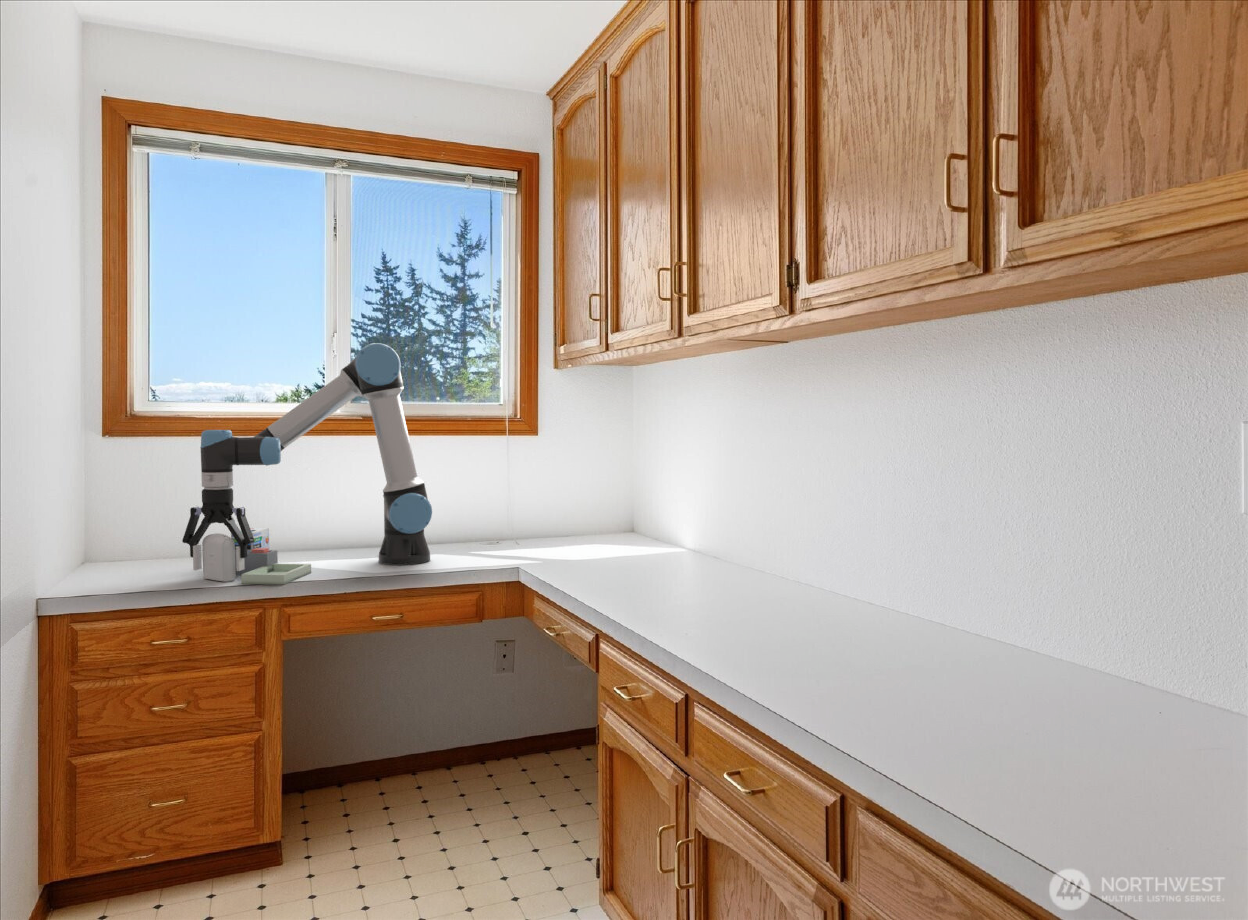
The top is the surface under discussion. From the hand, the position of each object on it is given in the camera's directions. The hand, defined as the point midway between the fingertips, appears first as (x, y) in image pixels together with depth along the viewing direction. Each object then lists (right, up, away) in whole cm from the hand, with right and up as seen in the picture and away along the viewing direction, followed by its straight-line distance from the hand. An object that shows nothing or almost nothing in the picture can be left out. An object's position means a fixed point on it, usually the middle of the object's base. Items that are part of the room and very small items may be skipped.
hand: (219, 569), depth 223 cm
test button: (+7, 0, +9) cm, 12 cm away
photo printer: (0, -3, 0) cm, 3 cm away
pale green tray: (+15, -3, +2) cm, 15 cm away
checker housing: (+4, -2, +9) cm, 10 cm away
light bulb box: (0, -2, +19) cm, 19 cm away
